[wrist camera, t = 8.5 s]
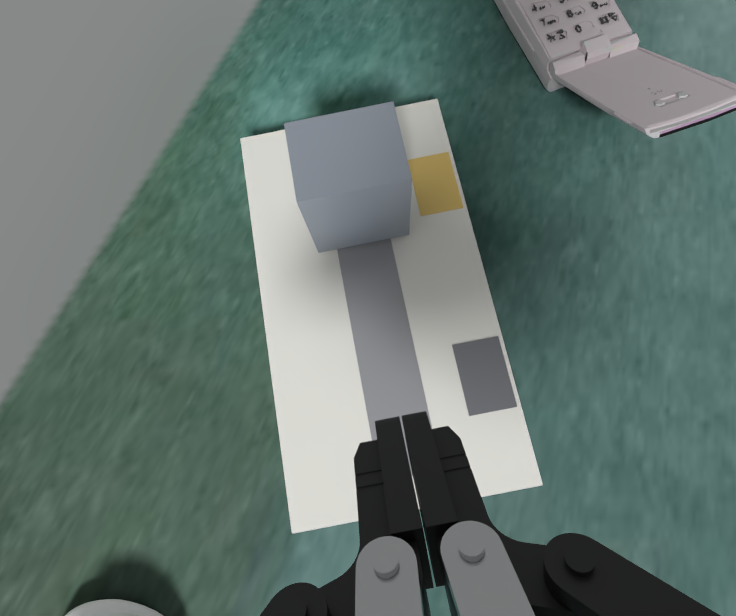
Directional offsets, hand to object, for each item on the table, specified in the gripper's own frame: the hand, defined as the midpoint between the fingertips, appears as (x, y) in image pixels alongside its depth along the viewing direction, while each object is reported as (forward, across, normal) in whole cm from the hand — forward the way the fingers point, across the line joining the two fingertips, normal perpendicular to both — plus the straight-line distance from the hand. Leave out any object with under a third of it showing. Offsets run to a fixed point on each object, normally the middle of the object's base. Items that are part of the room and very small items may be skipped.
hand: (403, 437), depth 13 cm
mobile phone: (+26, -15, -8) cm, 31 cm away
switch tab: (+15, 0, -2) cm, 15 cm away
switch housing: (+14, 0, +3) cm, 14 cm away
